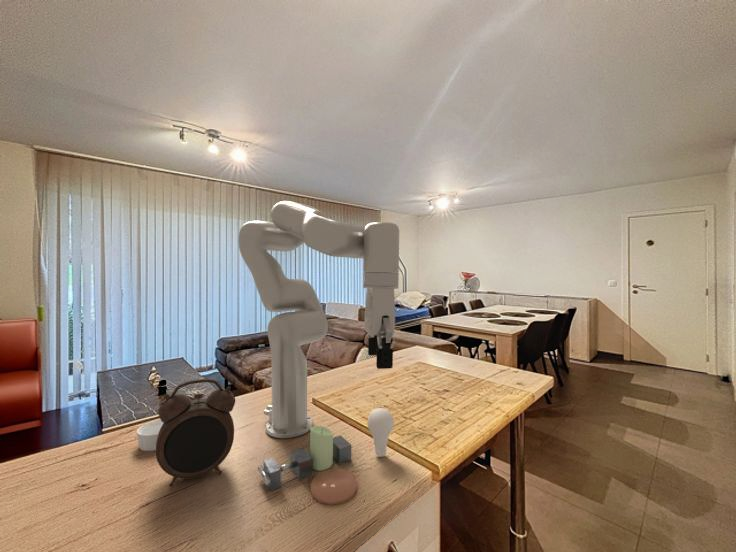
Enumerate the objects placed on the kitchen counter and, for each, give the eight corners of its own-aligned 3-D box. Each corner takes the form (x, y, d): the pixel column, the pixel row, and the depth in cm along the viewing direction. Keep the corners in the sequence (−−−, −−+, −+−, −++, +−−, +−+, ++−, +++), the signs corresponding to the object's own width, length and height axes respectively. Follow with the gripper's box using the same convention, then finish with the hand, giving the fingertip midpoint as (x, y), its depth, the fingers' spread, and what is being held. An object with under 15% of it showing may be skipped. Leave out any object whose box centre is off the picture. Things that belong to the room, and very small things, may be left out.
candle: (327, 455, 73) (327, 419, 73) (336, 466, 69) (336, 428, 69) (306, 461, 70) (306, 425, 70) (315, 473, 66) (315, 435, 66)
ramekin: (144, 457, 72) (144, 438, 72) (131, 444, 77) (131, 427, 77) (185, 441, 79) (185, 424, 79) (170, 430, 85) (170, 414, 85)
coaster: (301, 493, 60) (301, 488, 60) (329, 468, 68) (329, 463, 68) (340, 511, 56) (340, 505, 56) (365, 482, 63) (365, 477, 63)
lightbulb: (392, 465, 69) (392, 416, 69) (364, 462, 70) (364, 413, 70) (395, 450, 75) (395, 404, 75) (370, 447, 76) (370, 402, 76)
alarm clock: (153, 498, 59) (153, 392, 59) (158, 476, 65) (158, 380, 65) (236, 475, 66) (236, 380, 65) (234, 457, 72) (233, 370, 72)
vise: (257, 477, 65) (257, 460, 65) (339, 448, 75) (339, 434, 75) (265, 494, 60) (265, 476, 60) (352, 461, 70) (352, 445, 70)
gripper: (357, 279, 75) (356, 351, 75) (370, 282, 58) (369, 375, 58) (388, 280, 76) (387, 350, 76) (409, 283, 59) (408, 373, 59)
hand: (379, 361), depth 67 cm, fingers open, 9 cm apart
